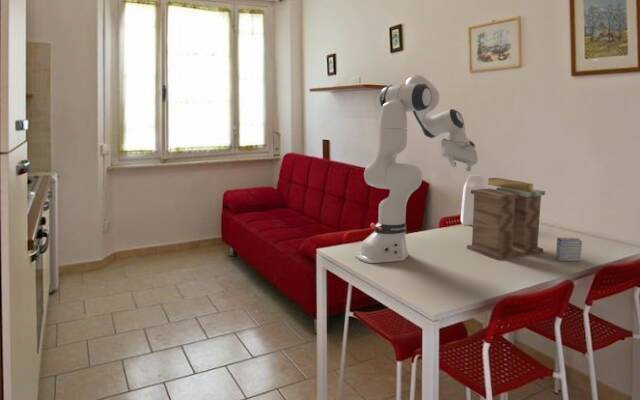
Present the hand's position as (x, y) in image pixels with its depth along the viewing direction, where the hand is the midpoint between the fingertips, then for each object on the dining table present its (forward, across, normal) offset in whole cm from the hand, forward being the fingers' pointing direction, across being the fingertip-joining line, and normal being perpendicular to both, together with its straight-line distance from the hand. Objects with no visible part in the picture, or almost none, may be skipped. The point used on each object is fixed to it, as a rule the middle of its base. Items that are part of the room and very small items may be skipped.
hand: (461, 168), depth 221 cm
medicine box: (+49, +23, -27) cm, 60 cm away
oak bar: (+14, +11, -16) cm, 24 cm away
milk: (+11, +35, +29) cm, 47 cm away
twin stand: (+40, +11, -7) cm, 42 cm away
